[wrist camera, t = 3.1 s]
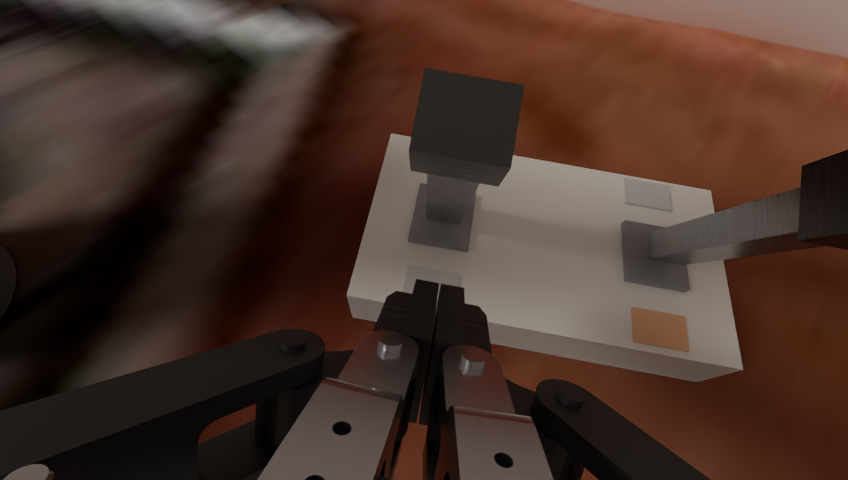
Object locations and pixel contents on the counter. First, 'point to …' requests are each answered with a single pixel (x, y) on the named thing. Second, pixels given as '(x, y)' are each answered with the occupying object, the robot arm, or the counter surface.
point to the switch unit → (556, 265)
